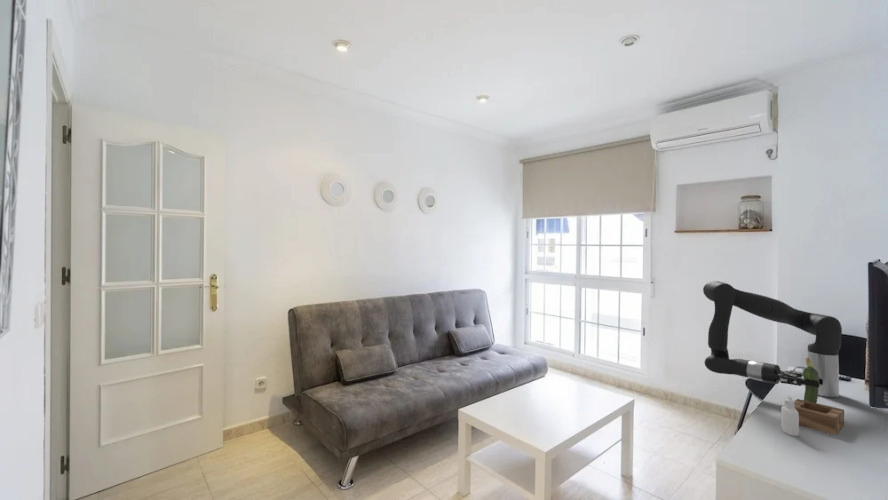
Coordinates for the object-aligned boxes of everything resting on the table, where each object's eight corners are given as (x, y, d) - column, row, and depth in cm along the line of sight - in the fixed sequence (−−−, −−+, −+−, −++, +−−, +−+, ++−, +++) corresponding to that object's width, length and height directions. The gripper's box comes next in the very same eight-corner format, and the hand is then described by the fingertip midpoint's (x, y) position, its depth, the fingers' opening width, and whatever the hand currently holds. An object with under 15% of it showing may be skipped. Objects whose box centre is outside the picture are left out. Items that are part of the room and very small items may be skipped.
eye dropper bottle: (799, 431, 127) (798, 395, 127) (799, 437, 123) (798, 400, 123) (781, 427, 130) (780, 392, 130) (780, 433, 126) (780, 396, 126)
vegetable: (812, 408, 146) (812, 356, 146) (822, 413, 142) (822, 359, 142) (800, 408, 146) (799, 355, 147) (809, 412, 142) (809, 358, 142)
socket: (797, 413, 141) (797, 398, 141) (844, 425, 131) (844, 409, 131) (787, 421, 134) (787, 406, 134) (835, 435, 124) (835, 418, 124)
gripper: (756, 365, 152) (815, 376, 138) (769, 359, 160) (825, 369, 146) (757, 384, 152) (816, 397, 138) (769, 377, 160) (826, 389, 146)
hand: (820, 383), depth 142 cm, fingers closed on vegetable, 4 cm apart
